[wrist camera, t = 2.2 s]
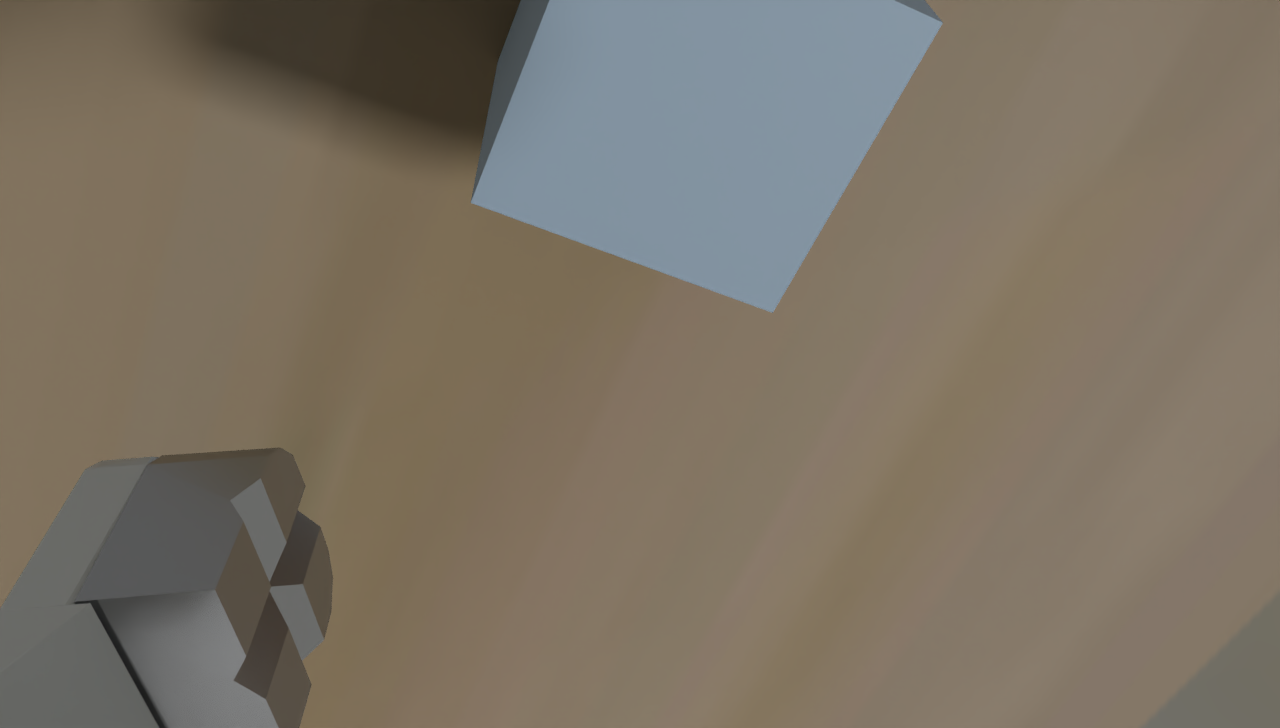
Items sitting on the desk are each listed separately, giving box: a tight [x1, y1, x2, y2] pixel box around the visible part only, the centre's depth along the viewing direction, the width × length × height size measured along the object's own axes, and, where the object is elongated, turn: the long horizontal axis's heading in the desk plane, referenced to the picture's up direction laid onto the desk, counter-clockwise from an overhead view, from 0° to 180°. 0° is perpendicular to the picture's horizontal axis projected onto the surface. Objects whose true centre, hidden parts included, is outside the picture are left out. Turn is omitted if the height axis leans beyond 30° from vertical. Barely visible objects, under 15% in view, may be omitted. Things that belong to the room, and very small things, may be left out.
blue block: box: [471, 0, 943, 313], centre depth 18 cm, size 5×5×6 cm
